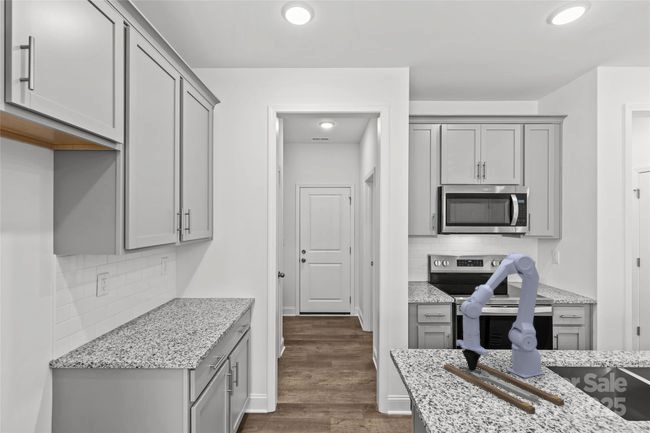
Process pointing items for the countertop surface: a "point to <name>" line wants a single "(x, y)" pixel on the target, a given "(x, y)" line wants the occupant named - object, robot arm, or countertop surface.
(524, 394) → the adjustable wrench
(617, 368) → the countertop surface
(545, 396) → the guide channel
